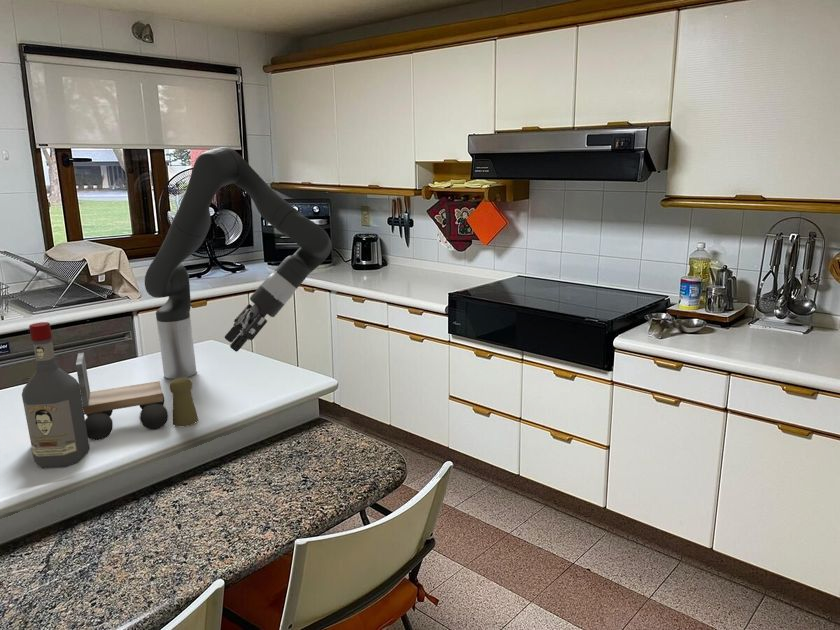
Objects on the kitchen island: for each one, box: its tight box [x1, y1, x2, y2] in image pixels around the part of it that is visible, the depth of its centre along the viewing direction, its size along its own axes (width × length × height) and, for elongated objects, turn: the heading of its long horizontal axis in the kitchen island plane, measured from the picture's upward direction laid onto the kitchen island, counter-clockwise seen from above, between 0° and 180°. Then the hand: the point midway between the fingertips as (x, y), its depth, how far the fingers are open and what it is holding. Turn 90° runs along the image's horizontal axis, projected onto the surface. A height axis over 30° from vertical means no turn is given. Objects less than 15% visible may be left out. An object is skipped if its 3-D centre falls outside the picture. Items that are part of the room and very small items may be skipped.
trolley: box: [75, 352, 169, 441], centre depth 154 cm, size 14×18×18 cm
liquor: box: [21, 321, 91, 469], centre depth 135 cm, size 9×9×30 cm
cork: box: [169, 377, 199, 427], centre depth 155 cm, size 6×6×11 cm
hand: (230, 344), depth 157 cm, fingers open, 8 cm apart
